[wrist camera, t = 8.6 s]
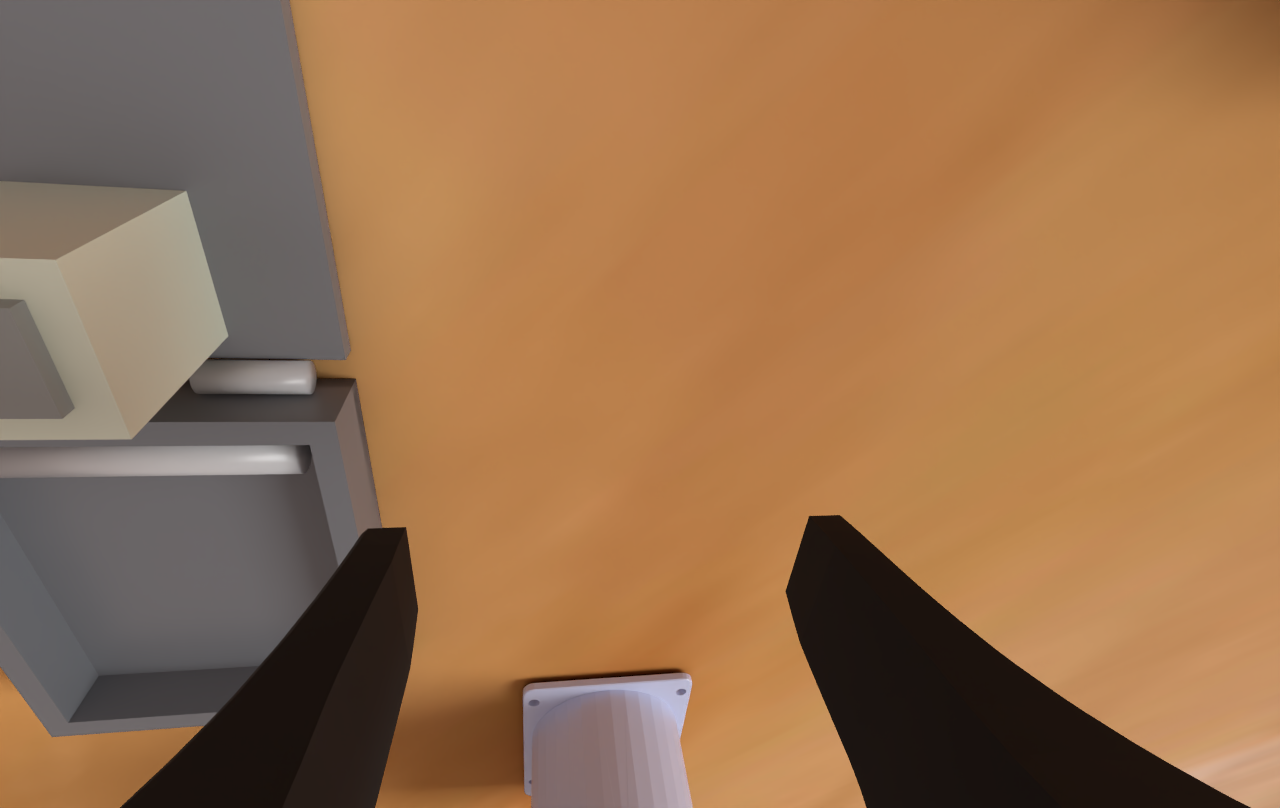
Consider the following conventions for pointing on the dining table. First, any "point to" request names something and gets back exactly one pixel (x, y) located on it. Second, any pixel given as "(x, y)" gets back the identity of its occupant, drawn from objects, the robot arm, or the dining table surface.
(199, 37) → the lid panel
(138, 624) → the case
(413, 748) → the dining table surface
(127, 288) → the block
